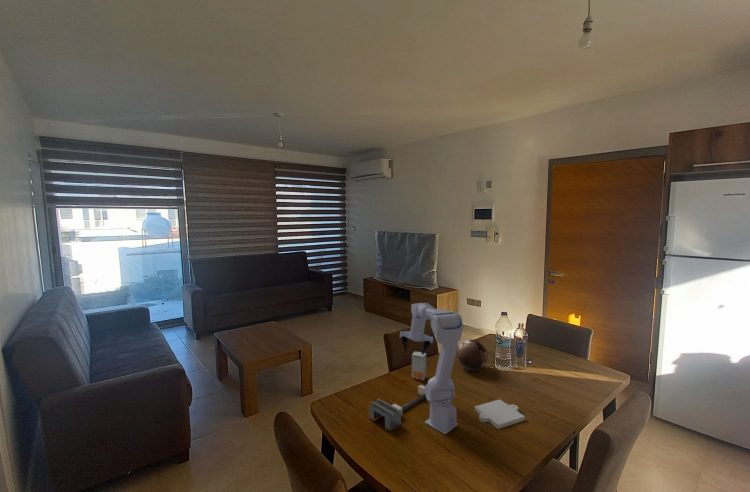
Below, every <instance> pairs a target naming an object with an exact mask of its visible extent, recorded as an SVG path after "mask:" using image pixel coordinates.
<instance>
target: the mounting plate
mask: <svg viewBox="0 0 750 492" xmlns="http://www.w3.org/2000/svg"><path fill="white" fill-rule="evenodd" d="M474 411H475V412H476V413H478V420H479V421H480V422H482V423H490V424H492V425H493V426H494V427H495V428H496V429H498V430H499V429H503V428H505V427H508V426H511V425H515V424H517V423H521V422H524V421H525V420H526V416H525V415H524V414H522V413H521V412H519V406H518V405H516V404H508V403H506V402H504V401H503V400H501V399H500V398H499V399H496V400H493V401H490V402H485V403H482V404H479V405H475V406H474Z"/></svg>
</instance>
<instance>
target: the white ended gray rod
mask: <svg viewBox="0 0 750 492" xmlns="http://www.w3.org/2000/svg"><path fill="white" fill-rule="evenodd" d="M425 386H426V385H423V384H420V385H418V386H417V387H418V388H417V390H418V391H417V393H418V394H419V395H420V396H418V397H416V398H415V399H413V400H411V401H409V402H407V403H405V404H404V405H403V406H400V405H398V404H396V403H393V404H391V405H392V406H393V407H395V408H397V409H399V410H400V411H401V416H403V411H404V410H407V409H408V408H410V407H411V406H413V405H414V404H416V403H418V402H420V401H422V400H423V399H425V398H426V395H425Z"/></svg>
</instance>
